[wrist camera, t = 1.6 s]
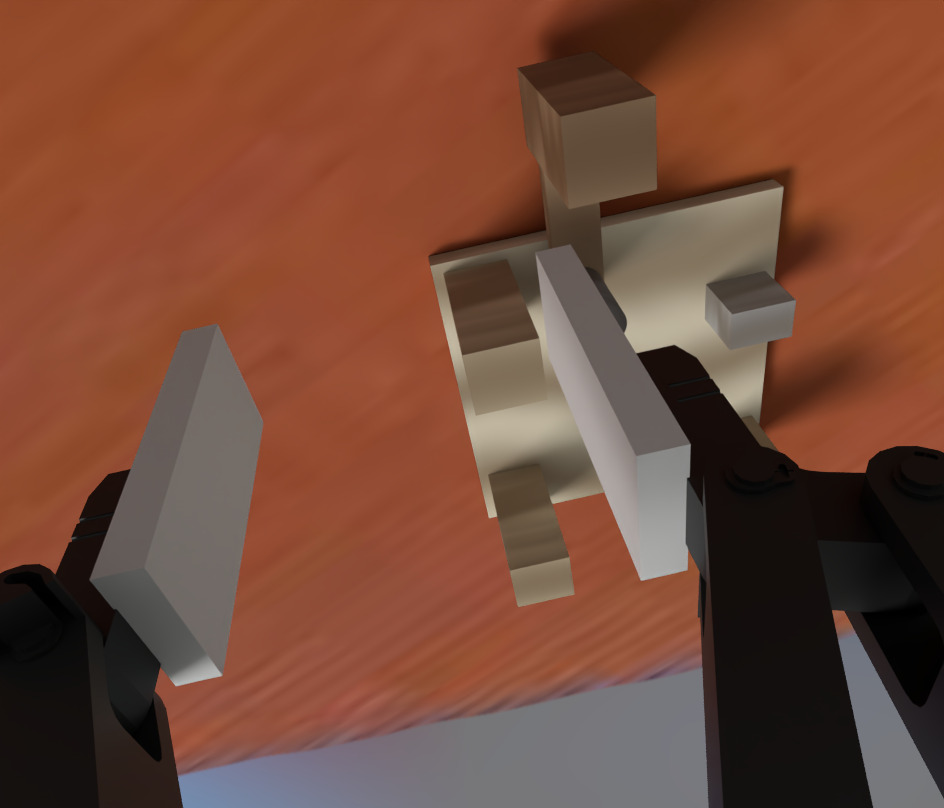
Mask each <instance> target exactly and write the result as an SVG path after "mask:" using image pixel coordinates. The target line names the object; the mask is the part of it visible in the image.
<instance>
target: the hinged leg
mask: <svg viewBox="0 0 944 808" xmlns="http://www.w3.org/2000/svg"><path fill="white" fill-rule="evenodd" d="M517 70H518V78H519V86H520V94H521V102H522V110H523V118H524V126H525V134H526V142H527V147H528V148H529V150H530V151H531V153H532V154H533V156H534V157H535V159H536V160H537V162H538V163H539V170H540V179H541V187H542V196H543V204H544V213H545V222H546V230H547V239H548V248H549V249H552V248H557V247H561V246H566V245H570V244H571V246H572V248H573V249H574V251H575V253H576V254H577V256H578V258H579V259H580V261H581V263H582V264H583V266H584V268H585V269H586V271H587V273H588V274H589V276H590V278H591V279H592V281H593V283H594V284H595V286H596V288H597V289H598V291H599V293H600V294H601V296H602V298H603V299H604V301H605V303H606V304H607V306H608V308H609V309H610V311H611V313H612V314H613V316H614V318H615V319H616V321H617V323H618V324H619V326H620V327H621V329H622V331H623V332H624V333H625V330H626V327H627V319H626V316H625V314H624V312H623V311H622V309H621V308H620V306H619V304H618V303H617V301H616V300H615V298H614V297H613V295H612V293H611V292H610V290H609V289H608V287H607V285H606V284H605V282H604V266H603V251H602V235H601V220H600V204H599V202H603V201H608V200H612V199H617V198H621V197H626V196H630V195H635V194H639V193H644V192H648V191H652V190H657V146H656V95H655V94H653V93H652V92H651V91H649V90H648V89H646V88H645V87H643V86H642V85H641V84H639V83H638V82H636V81H635V80H634V79H632V78H631V77H629V76H628V75H626V74H625V73H624V72H622V71H621V70H619V69H618V68H617V67H615V66H614V65H612V64H611V63H609V62H608V61H607V60H605V59H604V58H602V57H601V56H600V55H598V54H597V53H595V52H594V51H591V52H587V53H582V54H578V55H573V56H569V57H564V58H560V59H555V60H551V61H546V62H542V63H537V64H533V65H529V66H524V67H520V68H517Z"/></svg>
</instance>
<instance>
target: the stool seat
mask: <svg viewBox="0 0 944 808" xmlns="http://www.w3.org/2000/svg"><path fill="white" fill-rule="evenodd" d="M783 188H784V187H783V186H782V185H781V184H779V183H778V182H776V181H775V180H774V179H772V180H767V181H763V182H758V183H754V184H749V185H745V186H741V187H736V188H732V189H727V190H723V191H718V192H714V193H709V194H705V195H701V196H696V197H692V198H687V199H683V200H678V201H674V202H669V203H665V204H660V205H656V206H652V207H647V208H643V209H638V210H634V211H629V212H625V213H620V214H616V215H612V216H607V217H603V218H600V220H601V235H602V251H603V266H604V282H605V284H606V285H607V287H608V289H609V290H610V292H611V293H612V295H613V297H614V298H615V300H616V301H617V303H618V304H619V306H620V308H621V309H622V311H623V312H624V314H625V316H626V319H627V327H626V330H625V333H624V334H625V336H626V337H627V339H628V341H629V342H630V344H631V346H632V347H633V349H634V351H635V352H636V353H640V352H644V351H649V350H653V349H657V348H662V347H666V346H671V345H676V346H678V347H679V348H681V349H683V350H685V351H686V352H688V353H690V354H692V355H693V356H695V357H697V359H698V360H699V361H700V363H701V364H702V365H703V367H704V368H705V370H706V371H707V372H708V374H709V375H710V379H713V381H714V382H715V383H716V385H717V386H718V388H719V389H720V393H723V394H724V396H725V397H726V399H727V400H728V401H729V403H730V404H731V405H732V407H733V408H734V410H735V411H736V412H737V414H738V415H739V417H740V418H741V419H742V421H743V422H744V423H745V425H746V426H747V428H748V429H749V430H750V432H751V433H752V435H753V436H754V437H755V439H756V440H757V441H758V443H759V444H760V445H761V446H762V447H768V448H771V449H773V450H776V451H778V450H777V448H776V447H775V446H774V444H773V443H772V442H771V440H770V439H769V438H768V436H767V435H766V434H765V432H764V431H763V430H762V428H761V427H760V426H759V421H760V411H761V402H762V392H763V382H764V372H765V363H766V353H767V343H768V342H769V341H773V340H778V339H782V338H787V337H791V335H792V327H793V320H794V312H795V304H796V300H795V299H794V298H793V297H792V296H791V295H790V294H789V293H788V292H787V291H786V290H785V289H784V288H783V287H782V286H781V285H780V284H778V283H777V282H776V281H775V280H774V275H775V265H776V256H777V246H778V236H779V227H780V217H781V207H782V197H783ZM548 249H549V248H548V239H547V230H545V231H540V232H536V233H531V234H527V235H522V236H518V237H514V238H509V239H505V240H500V241H496V242H491V243H487V244H482V245H478V246H474V247H469V248H465V249H460V250H456V251H451V252H447V253H442V254H438V255H433V256H429V262H430V267H431V271H432V275H433V280H434V284H435V288H436V293H437V297H438V301H439V305H440V310H441V314H442V318H443V323H444V327H445V331H446V335H447V340H448V344H449V348H450V353H451V357H452V361H453V365H454V370H455V374H456V378H457V383H458V387H459V391H460V395H461V400H462V404H463V408H464V413H465V417H466V421H467V426H468V430H469V434H470V438H471V443H472V447H473V451H474V456H475V460H476V464H477V468H478V473H479V477H480V481H481V486H482V490H483V494H484V498H485V503H486V507H487V511H488V516H489V518H492V517H498V522H499V526H500V531H501V535H502V539H503V544H504V548H505V552H506V557H507V561H508V565H509V570H510V574H511V578H512V583H513V587H514V592H515V596H516V600H517V605H518V607H521V606H525V605H529V604H534V603H538V602H543V601H547V600H551V599H556V598H560V597H565V596H569V595H574V588H573V580H572V573H571V566H570V558H569V555H568V552H567V548H566V545H565V542H564V539H563V536H562V533H561V530H560V527H559V524H558V520H557V517H556V514H555V511H554V508H553V505H552V504H554V503H559V502H563V501H567V500H572V499H576V498H581V497H585V496H590V495H594V494H598V493H603V492H604V490H603V487H602V485H601V482H600V480H599V477H598V475H597V473H596V470H595V468H594V465H593V463H592V461H591V458H590V456H589V453H588V451H587V448H586V446H585V444H584V441H583V439H582V436H581V434H580V432H579V429H578V427H577V424H576V422H575V420H574V417H573V415H572V412H571V410H570V407H569V405H568V403H567V400H566V398H565V395H564V393H563V391H562V388H561V386H560V383H559V381H558V378H557V376H556V374H555V371H554V369H553V366H552V364H551V362H550V359H549V354H548V346H547V339H546V331H545V323H544V315H543V308H542V300H541V292H540V284H539V277H538V269H537V261H536V253H535V252H539V251H543V250H548ZM778 452H779V451H778Z"/></svg>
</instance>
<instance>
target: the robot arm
mask: <svg viewBox="0 0 944 808" xmlns="http://www.w3.org/2000/svg"><path fill="white" fill-rule="evenodd" d="M535 253H536V261H537V269H538V277H539V284H540V292H541V300H542V308H543V315H544V323H545V331H546V339H547V346H548V354H549V359H550V362H551V364H552V366H553V369H554V371H555V374H556V376H557V378H558V381H559V383H560V386H561V388H562V391H563V393H564V395H565V398H566V400H567V403H568V405H569V407H570V410H571V412H572V415H573V417H574V420H575V422H576V424H577V427H578V429H579V432H580V434H581V436H582V439H583V441H584V444H585V446H586V448H587V451H588V453H589V456H590V458H591V461H592V463H593V465H594V468H595V470H596V473H597V475H598V477H599V480H600V482H601V485H602V487H603V490H604V492H605V494H606V497H607V499H608V502H609V504H610V506H611V509H612V511H613V514H614V516H615V519H616V521H617V523H618V526H619V528H620V531H621V533H622V535H623V538H624V540H625V543H626V545H627V548H628V550H629V552H630V555H631V557H632V560H633V562H634V564H635V567H636V569H637V572H638V574H639V577H640V579H641V581H642V580H647V579H651V578H655V577H660V576H664V575H669V574H673V573H677V572H682V571H686V570H688V549H689V551H690V553H691V555H692V557H693V559H694V561H695V563H696V565H697V567H698V569H699V571H700V576H699V600H698V617H700V622H701V644H702V667H703V689H704V711H705V731H706V732H705V734H706V754H707V755H706V757H707V777H708V778H707V779H708V801H709V808H873V805H872V801H871V796H870V791H869V786H868V782H867V778H866V772H865V767H864V762H863V758H862V753H861V748H860V743H859V739H858V734H857V729H856V724H855V719H854V715H853V710H852V705H851V700H850V696H849V690H848V686H847V681H846V676H845V672H844V667H843V662H842V657H841V652H840V648H839V643H838V638H837V633H836V628H835V623H834V619H833V614H832V610H840V611H845V613H846V615H847V617H848V619H849V620H850V622H851V624H852V626H853V628H854V630H855V632H856V634H857V636H858V637H859V639H860V641H861V643H862V645H863V647H864V649H865V651H866V652H867V654H868V656H869V658H870V660H871V662H872V664H873V666H874V667H875V669H876V671H877V673H878V675H879V677H880V679H881V680H882V683H883V685H884V686H885V688H886V690H887V692H888V694H889V696H890V698H891V700H892V702H893V703H894V705H895V707H896V709H897V711H898V713H899V715H900V717H901V719H902V720H903V722H904V724H905V726H906V728H907V730H908V732H909V733H910V736H911V737H912V739H913V741H914V743H915V745H916V747H917V749H918V751H919V752H920V754H921V756H922V758H923V760H924V762H925V763H926V766H927V768H928V769H929V771H930V773H931V775H932V777H933V779H934V781H935V782H936V784H937V786H938V788H939V790H940V792H941V794H942V796H943V798H944V453H943V452H941V451H938V450H934V449H929V448H924V447H919V446H896V447H893V448H890V449H886V450H883V451H880V452H879V453H877V454H876V455H875V456H874V457H873V458H871V459H870V460H869V462H868V466H867V470H866V473H845V472H818V471H808V470H804V469H800V468H799V467H798V465H797V464H796V463H795V462H794V461H792V460H791V459H790V458H789V457H787V456H786V455H785V454H783V453H780V452H778V451H776V450H773V449H771V448H768V447H762V446H761V445H760V444H759V443H758V441H757V440H756V439H755V437H754V436H753V435H752V433H751V432H750V430H749V429H748V428H747V426H746V425H745V423H744V422H743V421H742V419H741V418H740V417H739V415H738V414H737V412H736V411H735V410H734V408H733V407H732V405H731V404H730V403H729V401H728V400H727V399H726V397H725V396H724V394H723V393H720V389H719V388H718V386H717V385H716V383H715V382H714V381H713V379H710V375H709V374H708V372H707V371H706V370H705V368H704V367H703V365H702V364H701V363H700V361H699V360H698V359H697V357H695V356H693V355H692V354H690V353H688V352H686V351H685V350H683V349H681V348H679V347H678V346H676V345H671V346H666V347H662V348H657V349H653V350H649V351H644V352H640V353H636V352H635V351H634V349H633V347H632V346H631V344H630V342H629V341H628V339H627V337H626V336H625V334H624V332H623V331H622V329H621V327H620V326H619V324H618V323H617V321H616V319H615V318H614V316H613V314H612V313H611V311H610V309H609V308H608V306H607V304H606V303H605V301H604V299H603V298H602V296H601V294H600V293H599V291H598V289H597V288H596V286H595V284H594V283H593V281H592V279H591V278H590V276H589V274H588V273H587V271H586V269H585V268H584V266H583V264H582V263H581V261H580V259H579V258H578V256H577V254H576V253H575V251H574V249H573V248H572V246H571V244H570V245H566V246H561V247H557V248H552V249H548V250H543V251H539V252H535ZM262 428H263V420H262V418H261V416H260V414H259V412H258V409H257V407H256V405H255V403H254V401H253V399H252V397H251V394H250V392H249V390H248V388H247V386H246V384H245V382H244V379H243V377H242V375H241V373H240V371H239V369H238V367H237V364H236V362H235V360H234V358H233V356H232V354H231V352H230V349H229V347H228V345H227V343H226V341H225V339H224V337H223V334H222V332H221V330H220V328H219V326H218V324H214V325H210V326H205V327H201V328H196V329H192V330H187V331H183V332H182V334H181V336H180V339H179V342H178V344H177V347H176V350H175V352H174V355H173V358H172V360H171V363H170V366H169V368H168V371H167V374H166V376H165V379H164V382H163V384H162V387H161V390H160V392H159V395H158V398H157V400H156V403H155V406H154V409H153V411H152V414H151V417H150V419H149V422H148V425H147V427H146V430H145V433H144V435H143V438H142V441H141V443H140V446H139V449H138V451H137V454H136V457H135V459H134V462H133V465H132V467H131V469H129V470H125V471H120V472H116V473H111V474H108V475H107V476H106V477H105V478H104V480H103V481H102V482H101V483H100V484H99V485H98V486H97V488H96V489H95V490H94V491H93V492H92V493H91V495H90V496H89V497H88V499H87V502H86V504H85V506H84V509H83V511H82V513H81V516H80V518H79V520H80V523H78V524H77V525H76V528H75V530H74V532H73V535H72V537H71V539H72V542H70V543H69V544H68V546H67V549H66V551H65V553H64V556H63V558H62V560H61V563H60V565H59V567H58V570H57V572H56V575H55V574H54V573H53V572H52V571H51V570H50V569H48V568H46V567H44V566H42V565H40V564H31V565H21V566H18V567H15V568H12V569H9V570H6V571H4V572H2V573H0V808H183V805H182V799H181V793H180V788H179V782H178V776H177V770H176V764H175V758H174V752H173V746H172V740H171V735H170V729H169V723H168V717H167V711H166V708H165V706H164V704H163V702H162V699H161V698H160V697H159V696H158V695H157V693H156V692H155V691H154V690H155V686H156V682H157V678H158V674H159V670H160V667H161V668H162V670H163V671H164V672H165V673H166V674H167V676H168V677H169V678H170V679H171V681H172V682H173V683H174V684H175V685H176V686H179V685H183V684H188V683H192V682H197V681H201V680H205V679H210V678H214V677H219V676H223V670H224V663H225V657H226V651H227V645H228V639H229V632H230V626H231V620H232V614H233V608H234V602H235V595H236V589H237V583H238V577H239V571H240V564H241V558H242V552H243V546H244V540H245V533H246V527H247V521H248V515H249V509H250V502H251V496H252V490H253V484H254V478H255V472H256V465H257V459H258V453H259V447H260V441H261V434H262Z"/></svg>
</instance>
